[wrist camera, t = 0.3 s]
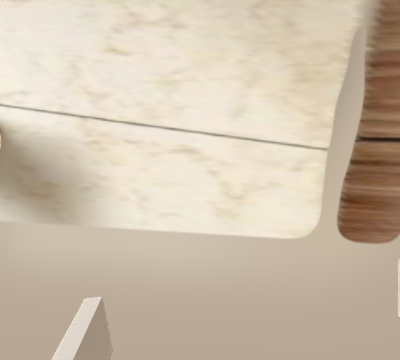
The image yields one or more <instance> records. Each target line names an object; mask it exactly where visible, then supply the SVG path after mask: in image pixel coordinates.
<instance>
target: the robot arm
mask: <svg viewBox="0 0 400 360" xmlns="http://www.w3.org/2000/svg"><path fill="white" fill-rule="evenodd" d="M398 316H399V317H400V260H398ZM112 352H113V349H112V345H111V339H110V334H109V329H108V324H107V319H106V314H105V309H104V304H103V298H102V296H101V297H93V298H85V299H84V301H83V303H82V305H81V306H80V308H79V310H78V312H77V314H76V316H75V317H74V319H73V321H72V323H71V325H70V327H69V328H68V330H67V332H66V334H65V336H64V337H63V339H62V341H61V343H60V345H59V347H58V348H57V351H56V352H55V354H54V356H53V358H52V360H110V358H111V355H112Z"/></svg>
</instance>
